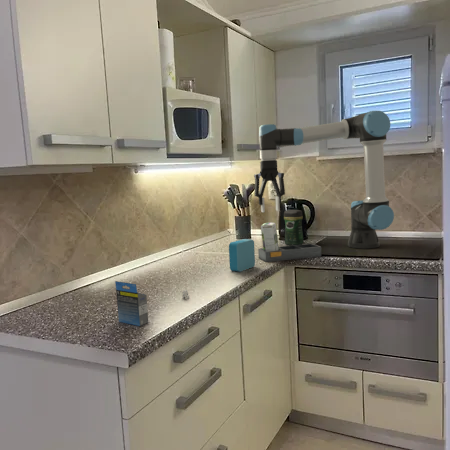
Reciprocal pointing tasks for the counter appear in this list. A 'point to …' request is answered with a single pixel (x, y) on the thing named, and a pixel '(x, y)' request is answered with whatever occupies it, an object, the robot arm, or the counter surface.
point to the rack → (290, 252)
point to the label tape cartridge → (131, 304)
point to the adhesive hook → (185, 294)
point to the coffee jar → (293, 227)
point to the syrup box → (269, 237)
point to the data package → (241, 255)
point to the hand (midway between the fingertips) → (270, 211)
